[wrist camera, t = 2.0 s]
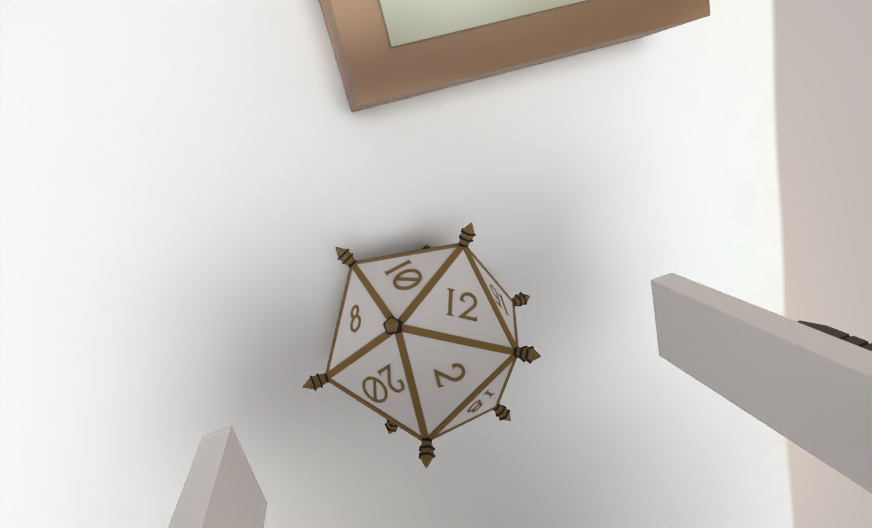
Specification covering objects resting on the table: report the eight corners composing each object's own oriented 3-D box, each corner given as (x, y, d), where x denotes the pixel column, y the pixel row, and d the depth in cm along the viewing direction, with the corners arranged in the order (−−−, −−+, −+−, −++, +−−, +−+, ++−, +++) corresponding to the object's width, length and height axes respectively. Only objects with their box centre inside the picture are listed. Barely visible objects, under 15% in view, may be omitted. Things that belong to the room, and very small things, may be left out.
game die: (400, 317, 27) (391, 515, 20) (289, 226, 21) (228, 457, 15) (552, 261, 23) (600, 478, 17) (466, 133, 18) (488, 383, 11)
